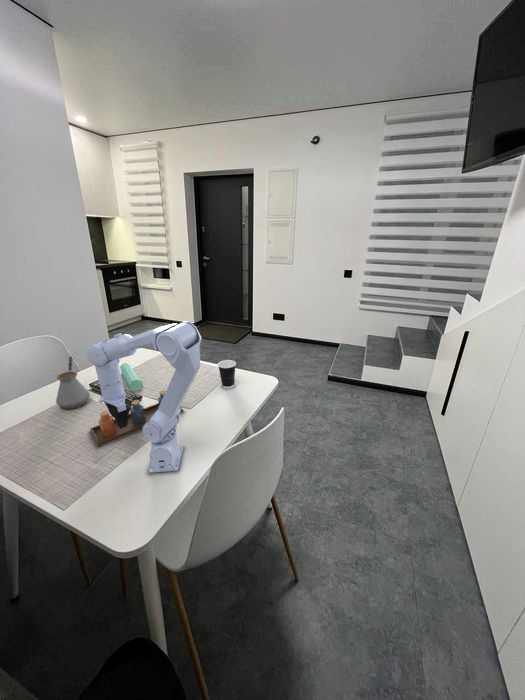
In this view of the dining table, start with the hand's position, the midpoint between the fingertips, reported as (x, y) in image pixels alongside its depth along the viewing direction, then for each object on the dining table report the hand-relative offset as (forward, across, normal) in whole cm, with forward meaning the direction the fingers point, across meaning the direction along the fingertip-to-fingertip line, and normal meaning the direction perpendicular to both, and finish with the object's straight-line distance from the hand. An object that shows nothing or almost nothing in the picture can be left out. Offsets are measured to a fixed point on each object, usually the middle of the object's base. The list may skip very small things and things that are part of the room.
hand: (119, 420), depth 87 cm
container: (+11, -46, +16) cm, 50 cm away
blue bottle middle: (+10, -11, +8) cm, 17 cm away
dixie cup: (+10, -12, +48) cm, 50 cm away
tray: (+10, -11, +8) cm, 17 cm away
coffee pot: (+11, -46, -6) cm, 47 cm away
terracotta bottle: (+10, -11, -2) cm, 15 cm away
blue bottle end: (+10, -11, +18) cm, 23 cm away
